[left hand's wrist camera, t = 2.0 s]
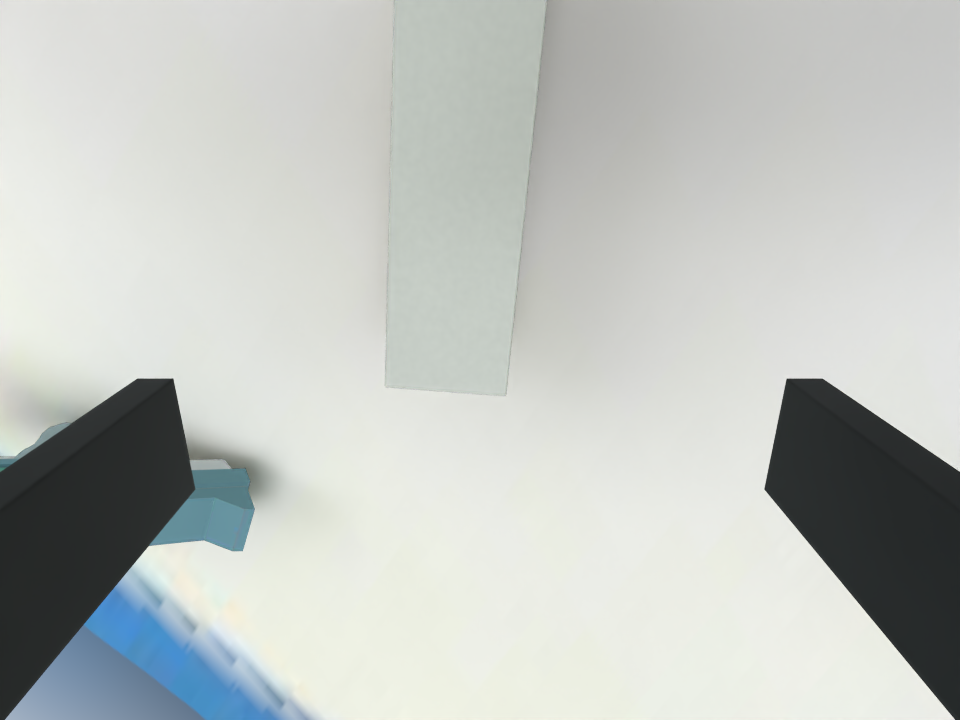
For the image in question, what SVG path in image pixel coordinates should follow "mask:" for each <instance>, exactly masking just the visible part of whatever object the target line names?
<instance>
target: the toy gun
mask: <svg viewBox="0 0 960 720" xmlns="http://www.w3.org/2000/svg"><path fill="white" fill-rule="evenodd" d="M70 424H72V423H62V424H59V425H55V426H52V427H50V428H48V429H47V430H46V431H44V432H43V433H42V435H41V436H40V438H39V439H38V440H37V442H36V443H35V444H34V445H32V446H30V447H28V448H26V449H24V450H23V451H22V452H20V453H19V454H18V455H17V456H16V457H12V456H0V472H1V471H2V470H4V469H5V468H7V467H8V466H10V465H11V464H13V463H14V462H16V461H17V460H19V459H20V458H22V457H23V456H24V455H26V454H27V453H29V452H30V451H32V450H33V449H35V448H36V447H38V446H39V445H41V444H42V443H44V442H45V441H47V440H48V439H49V438H51V437H52V436H54V435H55V434H57V433H58V432H60V431H61V430H63V429H64V428H66V427H67V426H69V425H70ZM190 464H191V469H192V474H193V479H194V484H195V491H194V492H193V493H192V494H191V495H190V497H189V498H188V499H187V500H186V501H185V503H184V504H183V505H182V506H181V507H180V509H179V510H178V511H177V512H176V514H175V515H174V516H173V517H172V518H171V520H170V521H169V522H168V523H167V524H166V526H165V527H164V528H163V529H162V530H161V532H160V533H159V534H158V535H157V536H156V538H155V539H154V540H153V541H152V542H151V544H150V545H149V546H152V545H161V544H171V543H181V542H191V541H201V540H205V541H208V542H210V543H213V544H215V545H218V546H220V547H223V548H226V549H228V550H231V551H243V548H244V545H245V541H246V538H247V534H248V531H249V527H250V524H251V520H252V517H253V513H254V510H255V508H254V506H253V503H252V500H251V497H250V495H249V492H248V488H249V484H250V479H249V477H248V474H247V471H246V469H245V468H243V469H232V468H231V467H230V466H229V465H228V463H227V462H226V461H225V460H223V459H213V460H190Z"/></svg>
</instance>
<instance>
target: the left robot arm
mask: <svg viewBox="0 0 960 720" xmlns="http://www.w3.org/2000/svg"><path fill="white" fill-rule="evenodd" d="M194 491H195V484H194V479H193V474H192V469H191V464H190V459H189V454H188V449H187V445H186V440H185V435H184V430H183V425H182V420H181V415H180V410H179V405H178V400H177V395H176V390H175V385H174V380H173V379H136V380H135V381H133V382H132V383H130V384H129V385H127V386H126V387H125V388H123V389H122V390H120V391H119V392H117V393H116V394H114V395H113V396H111V397H110V398H108V399H107V400H105V401H104V402H102V403H101V404H99V405H98V406H97V407H95V408H94V409H92V410H91V411H89V412H88V413H86V414H85V415H83V416H82V417H80V418H79V419H77V420H76V421H74V422H73V423H72V424H70V425H69V426H67V427H66V428H64V429H63V430H61V431H60V432H58V433H57V434H55V435H54V436H52V437H51V438H49V439H48V440H47V441H45V442H44V443H42V444H41V445H39V446H38V447H36V448H35V449H33V450H32V451H30V452H29V453H27V454H26V455H24V456H23V457H22V458H20V459H19V460H17V461H16V462H14V463H13V464H11V465H10V466H8V467H7V468H5V469H4V470H2V471H1V472H0V720H5V719H6V718H7V716H8V715H9V714H10V713H11V712H12V710H13V709H14V708H15V707H16V705H17V704H18V703H19V702H20V701H21V699H22V698H23V697H24V696H25V695H26V693H27V692H28V691H29V690H30V689H31V687H32V686H33V685H34V684H35V683H36V681H37V680H38V679H39V678H40V676H41V675H42V674H43V673H44V672H45V670H46V669H47V668H48V667H49V666H50V664H51V663H52V662H53V661H54V660H55V658H56V657H57V656H58V655H59V654H60V652H61V651H62V650H63V649H64V648H65V646H66V645H67V644H68V643H69V641H70V640H71V639H72V638H73V637H74V635H75V634H76V633H77V632H78V631H79V629H80V628H81V627H82V626H83V625H84V623H85V622H86V621H87V620H88V619H89V617H90V616H91V615H92V614H93V613H94V611H95V610H96V609H97V608H98V606H99V605H100V604H101V603H102V602H103V600H104V599H105V598H106V597H107V596H108V594H109V593H110V592H111V591H112V590H113V588H114V587H115V586H116V585H117V584H118V582H119V581H120V580H121V579H122V578H123V576H124V575H125V574H126V573H127V571H128V570H129V569H130V568H131V567H132V565H133V564H134V563H135V562H136V561H137V559H138V558H139V557H140V556H141V555H142V553H143V552H144V551H145V550H146V549H147V547H148V546H149V545H150V544H151V542H152V541H153V540H154V539H155V538H156V536H157V535H158V534H159V533H160V532H161V530H162V529H163V528H164V527H165V526H166V524H167V523H168V522H169V521H170V520H171V518H172V517H173V516H174V515H175V514H176V512H177V511H178V510H179V509H180V507H181V506H182V505H183V504H184V503H185V501H186V500H187V499H188V498H189V497H190V495H191V494H192V493H193V492H194ZM765 491H766V492H767V493H768V494H769V495H770V497H771V498H772V499H773V500H774V501H775V503H776V504H777V505H778V506H779V507H780V509H781V510H782V511H783V512H784V514H785V515H786V516H787V517H788V518H789V520H790V521H791V522H792V523H793V524H794V526H795V527H796V528H797V529H798V530H799V532H800V533H801V534H802V535H803V536H804V538H805V539H806V540H807V541H808V543H809V544H810V545H811V546H812V547H813V549H814V550H815V551H816V552H817V553H818V555H819V556H820V557H821V558H822V559H823V561H824V562H825V563H826V564H827V565H828V567H829V568H830V569H831V570H832V571H833V573H834V574H835V575H836V576H837V578H838V579H839V580H840V581H841V582H842V584H843V585H844V586H845V587H846V588H847V590H848V591H849V592H850V593H851V594H852V596H853V597H854V598H855V599H856V600H857V602H858V603H859V604H860V605H861V606H862V608H863V609H864V610H865V611H866V613H867V614H868V615H869V616H870V617H871V619H872V620H873V621H874V622H875V623H876V625H877V626H878V627H879V628H880V629H881V631H882V632H883V633H884V634H885V635H886V637H887V638H888V639H889V640H890V641H891V643H892V644H893V645H894V646H895V648H896V649H897V650H898V651H899V652H900V654H901V655H902V656H903V657H904V658H905V660H906V661H907V662H908V663H909V664H910V666H911V667H912V668H913V669H914V670H915V672H916V673H917V674H918V675H919V677H920V678H921V679H922V680H923V681H924V683H925V684H926V685H927V686H928V687H929V689H930V690H931V691H932V692H933V693H934V695H935V696H936V697H937V698H938V699H939V701H940V702H941V703H942V704H943V705H944V707H945V708H946V709H947V710H948V712H949V713H950V714H951V715H952V716H953V718H954V719H955V720H960V472H959V471H958V470H956V469H955V468H953V467H952V466H950V465H949V464H947V463H946V462H944V461H943V460H941V459H940V458H938V457H937V456H936V455H934V454H933V453H931V452H930V451H928V450H927V449H925V448H924V447H922V446H921V445H919V444H918V443H916V442H915V441H913V440H912V439H911V438H909V437H908V436H906V435H905V434H903V433H902V432H900V431H899V430H897V429H896V428H894V427H893V426H891V425H890V424H888V423H887V422H886V421H884V420H883V419H881V418H880V417H878V416H877V415H875V414H874V413H872V412H871V411H869V410H868V409H866V408H865V407H863V406H862V405H861V404H859V403H858V402H856V401H855V400H853V399H852V398H850V397H849V396H847V395H846V394H844V393H843V392H841V391H840V390H838V389H837V388H835V387H834V386H833V385H831V384H830V383H828V382H827V381H825V380H824V379H787V380H786V385H785V390H784V395H783V400H782V405H781V410H780V415H779V420H778V425H777V430H776V435H775V440H774V444H773V449H772V454H771V459H770V464H769V469H768V474H767V479H766V484H765Z"/></svg>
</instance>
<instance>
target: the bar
mask: <svg viewBox="0 0 960 720" xmlns="http://www.w3.org/2000/svg"><path fill="white" fill-rule="evenodd" d="M546 9H547V0H394V25H393V67H392V109H391V151H390V193H389V235H388V277H387V319H386V361H385V387H387V388H400V389H414V390H427V391H441V392H454V393H468V394H481V395H495V396H506V391H507V382H508V372H509V363H510V353H511V344H512V334H513V324H514V315H515V305H516V296H517V286H518V277H519V267H520V257H521V248H522V238H523V229H524V219H525V210H526V200H527V190H528V181H529V171H530V162H531V152H532V143H533V133H534V123H535V114H536V104H537V95H538V85H539V76H540V66H541V57H542V47H543V37H544V28H545V18H546Z"/></svg>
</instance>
